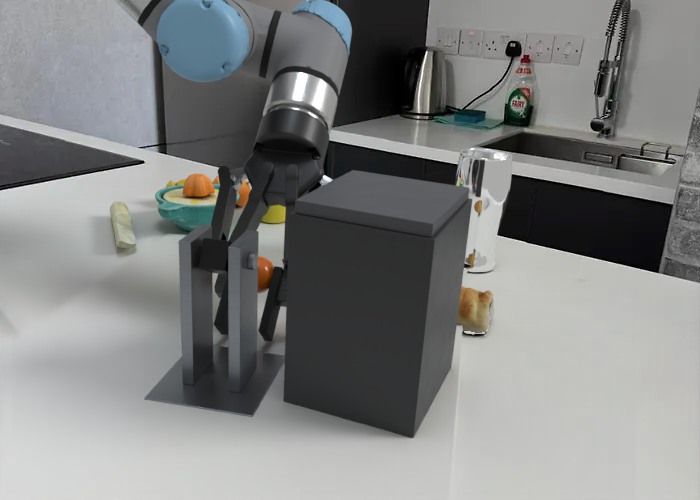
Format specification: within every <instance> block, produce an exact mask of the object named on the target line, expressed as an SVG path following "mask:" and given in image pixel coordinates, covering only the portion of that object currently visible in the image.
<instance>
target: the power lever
mask: <svg viewBox="0 0 700 500" xmlns="http://www.w3.org/2000/svg"><path fill="white" fill-rule="evenodd" d="M231 244H232V242H231V241H226V240H218V239H210V238H204V239H203V244H202V250H201V256H200V261H199V268H201V269H203V270H206V271H208V272H211V273H212V274H218V273H219V274H226V275H228V247H229V246H230V245H231ZM274 266H275V265H274V264H273V263H272V262H271V261H270V260H269V259H268V258H267V257H264V256H261V255H258V295H259V294H263V293H265V292H268V290H269V286H270V282H271V278H272V274H273V270H274Z"/></svg>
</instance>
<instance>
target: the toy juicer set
mask: <svg viewBox="0 0 700 500" xmlns="http://www.w3.org/2000/svg"><path fill="white" fill-rule="evenodd" d="M219 188H220V182H219V177H218V175H217V176H216V177H215V178H214V179H213V180H211V178H210V177H208V176H207V175H206V174H203V173H198V172H197V173H192V174H190V175H187V178H183V179H180V180H177V181H174V180H173V179H170V180H169V181H168V182H167V184H166V185H165V187H164V188H161V189H159V190H158V191H156V192H155V194H154V198H155V200H156V201H157V203H158V204H159V205H158V206H157V210H158V213H159V216H160V217H161V218H163V219H165V220H169V221H170V222H172V223H174V224H175V225H177V226H178V228H179V229H181V230H184V231H188V232H191V231H193V230H194V229H196V228H197V227H198V226H200V225H210V226H211V222H212V218H213V213H214V209H215V205H216V200H217V196H218V192H219ZM250 191H251V185H250V183H249V181H246V179H245V180H244V181H243V182H242V187H241V189H240V191H237V200H236V205H237V206H239V207H245V206H246V204H247V202H248V196H249V193H250ZM285 212H286V207H284V206H281V205H274V206H270V208H269V210H268V212H267V214H266V215H264V216H263V218H262V220H261V222H263V223H267V224H280V223H285ZM109 213H110V218H111V224H112V229H113V233H114V239H115V243H116V244H115V245H116V247H117V248H122V249H123V248H125V249H126V248H133V247H135V246H136V245H137V239H136V235H135V233H134V227H133V221H132V218H131V214H130V211H129V207H128V205H127V203H125V202H124V201H121V200H116V201H114V202H112V203H111V205H110V207H109Z"/></svg>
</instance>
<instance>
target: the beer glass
mask: <svg viewBox="0 0 700 500" xmlns="http://www.w3.org/2000/svg"><path fill="white" fill-rule="evenodd" d="M513 159H514V156H513V154H511V153H509V152H507V151H503V150H499V149H491V148H482V147H469V148H463V149H461V150H460V152H459V158H458V162H457V167H456V172H455V179H454V185H455V186H462V187H468V188H469V196H468V198H469V199H472V207H471V215H470V223H469V231H468V239H467V247H466V255H465V263H464V268H466V269H473V270H483V269H489V268H492V267H494V266H495V267H496V241H497V236H498V234H499V231H500V227H501V224H502V221H503V218H504V215H505V212H506V208H507V206H508V202H509V197H510V192H511V185H512V175H513Z"/></svg>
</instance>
